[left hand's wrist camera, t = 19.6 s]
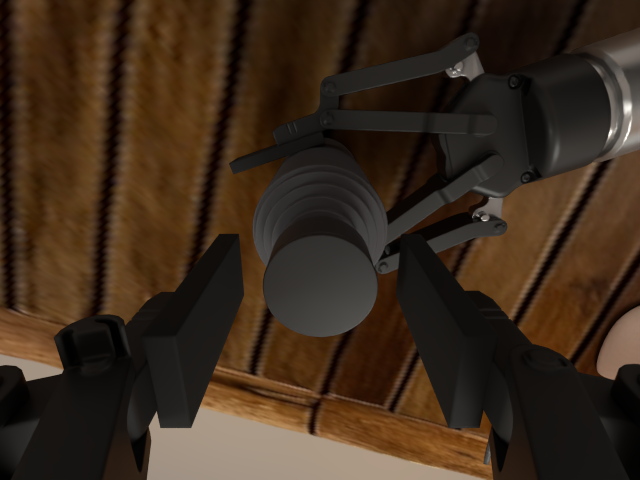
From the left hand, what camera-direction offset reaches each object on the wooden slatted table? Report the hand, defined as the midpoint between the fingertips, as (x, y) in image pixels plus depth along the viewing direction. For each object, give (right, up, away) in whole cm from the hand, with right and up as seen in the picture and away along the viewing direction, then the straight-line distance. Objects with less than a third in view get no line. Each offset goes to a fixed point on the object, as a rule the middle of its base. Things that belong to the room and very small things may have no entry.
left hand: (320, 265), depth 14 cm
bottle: (0, +7, +17) cm, 19 cm away
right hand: (-5, +3, +12) cm, 13 cm away
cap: (0, -1, -2) cm, 2 cm away
